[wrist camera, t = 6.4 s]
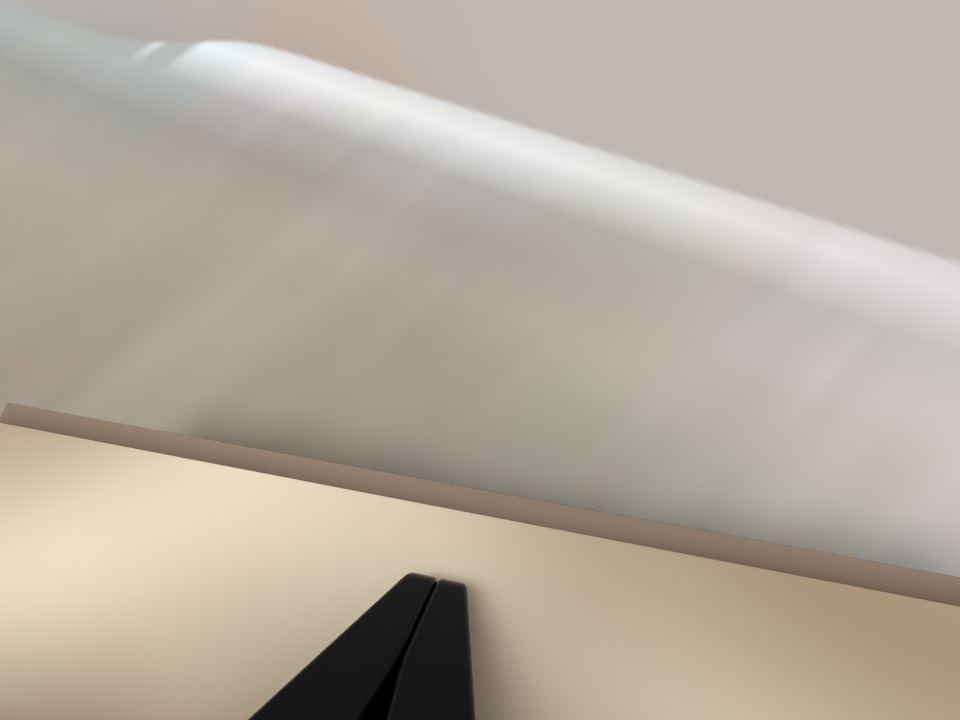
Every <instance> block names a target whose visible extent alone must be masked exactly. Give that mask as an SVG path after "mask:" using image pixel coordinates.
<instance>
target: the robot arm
mask: <svg viewBox="0 0 960 720" xmlns="http://www.w3.org/2000/svg"><path fill="white" fill-rule="evenodd" d="M248 720H476V717H475V701H474V686H473V670H472V654H471V638H470V623H469V607H468V592H467V586H466V585H465V584H464V583H461V582H456V581H452V580H447V579H440V580H439V581H438V582H437V579H436V578H435V577H433V576H428V575H424V574H419V573H412V572H411V573H408V574H406V575H405V576H404V577H403V578H402V579H400V580H399V581H398V582H397V583H396V584H395V585H394V586H393V587H392V588H391V589H390V590H388V591H387V592H386V593H385V594H384V595H383V596H382V597H381V598H380V599H379V600H378V601H376V602H375V603H374V604H373V605H372V606H371V607H370V608H369V609H368V610H367V611H366V612H364V613H363V614H362V615H361V616H360V617H359V618H358V619H357V620H356V621H355V622H354V623H352V624H351V625H350V626H349V627H348V628H347V629H346V630H345V631H344V632H343V633H342V634H340V635H339V636H338V637H337V638H336V639H335V640H334V641H333V642H332V643H331V644H330V645H328V646H327V647H326V648H325V649H324V650H323V651H322V652H321V653H320V654H319V655H318V656H316V657H315V658H314V659H313V660H312V661H311V662H310V663H309V664H308V665H307V666H306V667H304V668H303V669H302V670H301V671H300V672H299V673H298V674H297V675H296V676H295V677H294V678H292V679H291V680H290V681H289V682H288V683H287V684H286V685H285V686H284V687H283V688H282V689H280V690H279V691H278V692H277V693H276V694H275V695H274V696H273V697H272V698H271V699H270V700H268V701H267V702H266V703H265V704H264V705H263V706H262V707H261V708H260V709H259V710H258V711H256V712H255V713H254V714H253V715H252V716H251V717H250V718H249V719H248Z"/></svg>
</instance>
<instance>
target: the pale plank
mask: <svg viewBox="0 0 960 720" xmlns="http://www.w3.org/2000/svg"><path fill="white" fill-rule="evenodd" d="M411 572H412V573H419V574H424V575H428V576H433V577H435V578H436V579H437V582H438V581H439V580H440V579H447V580H452V581H456V582H461V583H464V584H465V585H466V586H467V592H468V607H469V623H470V638H471V654H472V670H473V686H474V701H475V717H476V720H960V607H959V606H954V605H948V604H943V603H938V602H933V601H928V600H922V599H917V598H912V597H907V596H901V595H896V594H891V593H886V592H881V591H875V590H870V589H865V588H860V587H854V586H849V585H844V584H839V583H834V582H828V581H823V580H818V579H813V578H807V577H802V576H797V575H792V574H787V573H781V572H776V571H771V570H766V569H760V568H755V567H750V566H745V565H740V564H734V563H729V562H724V561H719V560H713V559H708V558H703V557H698V556H693V555H687V554H682V553H677V552H672V551H666V550H661V549H656V548H651V547H646V546H640V545H635V544H630V543H625V542H619V541H614V540H609V539H604V538H599V537H593V536H588V535H583V534H578V533H572V532H567V531H562V530H557V529H552V528H546V527H541V526H536V525H531V524H525V523H520V522H515V521H510V520H505V519H499V518H494V517H489V516H484V515H479V514H473V513H468V512H463V511H458V510H452V509H447V508H442V507H437V506H432V505H426V504H421V503H416V502H411V501H405V500H400V499H395V498H390V497H385V496H379V495H374V494H369V493H364V492H358V491H353V490H348V489H343V488H338V487H332V486H327V485H322V484H317V483H311V482H306V481H301V480H296V479H291V478H285V477H280V476H275V475H270V474H264V473H259V472H254V471H249V470H244V469H238V468H233V467H228V466H223V465H217V464H212V463H207V462H202V461H197V460H191V459H186V458H181V457H176V456H170V455H165V454H160V453H155V452H150V451H144V450H139V449H134V448H129V447H123V446H118V445H113V444H108V443H103V442H97V441H92V440H87V439H82V438H76V437H71V436H66V435H61V434H56V433H50V432H45V431H40V430H35V429H29V428H24V427H19V426H14V425H9V424H3V423H0V720H248V719H249V718H250V717H251V716H252V715H253V714H254V713H255V712H256V711H258V710H259V709H260V708H261V707H262V706H263V705H264V704H265V703H266V702H267V701H268V700H270V699H271V698H272V697H273V696H274V695H275V694H276V693H277V692H278V691H279V690H280V689H282V688H283V687H284V686H285V685H286V684H287V683H288V682H289V681H290V680H291V679H292V678H294V677H295V676H296V675H297V674H298V673H299V672H300V671H301V670H302V669H303V668H304V667H306V666H307V665H308V664H309V663H310V662H311V661H312V660H313V659H314V658H315V657H316V656H318V655H319V654H320V653H321V652H322V651H323V650H324V649H325V648H326V647H327V646H328V645H330V644H331V643H332V642H333V641H334V640H335V639H336V638H337V637H338V636H339V635H340V634H342V633H343V632H344V631H345V630H346V629H347V628H348V627H349V626H350V625H351V624H352V623H354V622H355V621H356V620H357V619H358V618H359V617H360V616H361V615H362V614H363V613H364V612H366V611H367V610H368V609H369V608H370V607H371V606H372V605H373V604H374V603H375V602H376V601H378V600H379V599H380V598H381V597H382V596H383V595H384V594H385V593H386V592H387V591H388V590H390V589H391V588H392V587H393V586H394V585H395V584H396V583H397V582H398V581H399V580H400V579H402V578H403V577H404V576H405V575H406V574H408V573H411Z"/></svg>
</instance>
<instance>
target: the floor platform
mask: <svg viewBox="0 0 960 720" xmlns="http://www.w3.org/2000/svg"><path fill="white" fill-rule="evenodd" d="M0 423H3V424H9V425H14V426H19V427H24V428H29V429H35V430H40V431H45V432H50V433H56V434H61V435H66V436H71V437H76V438H82V439H87V440H92V441H97V442H103V443H108V444H113V445H118V446H123V447H129V448H134V449H139V450H144V451H150V452H155V453H160V454H165V455H170V456H176V457H181V458H186V459H191V460H197V461H202V462H207V463H212V464H217V465H223V466H228V467H233V468H238V469H244V470H249V471H254V472H259V473H264V474H270V475H275V476H280V477H285V478H291V479H296V480H301V481H306V482H311V483H317V484H322V485H327V486H332V487H338V488H343V489H348V490H353V491H358V492H364V493H369V494H374V495H379V496H385V497H390V498H395V499H400V500H405V501H411V502H416V503H421V504H426V505H432V506H437V507H442V508H447V509H452V510H458V511H463V512H468V513H473V514H479V515H484V516H489V517H494V518H499V519H505V520H510V521H515V522H520V523H525V524H531V525H536V526H541V527H546V528H552V529H557V530H562V531H567V532H572V533H578V534H583V535H588V536H593V537H599V538H604V539H609V540H614V541H619V542H625V543H630V544H635V545H640V546H646V547H651V548H656V549H661V550H666V551H672V552H677V553H682V554H687V555H693V556H698V557H703V558H708V559H713V560H719V561H724V562H729V563H734V564H740V565H745V566H750V567H755V568H760V569H766V570H771V571H776V572H781V573H787V574H792V575H797V576H802V577H807V578H813V579H818V580H823V581H828V582H834V583H839V584H844V585H849V586H854V587H860V588H865V589H870V590H875V591H881V592H886V593H891V594H896V595H901V596H907V597H912V598H917V599H922V600H928V601H933V602H938V603H943V604H948V605H954V606H959V607H960V578H959V577H954V576H948V575H943V574H937V573H932V572H926V571H921V570H916V569H910V568H905V567H899V566H894V565H888V564H883V563H877V562H872V561H867V560H861V559H856V558H850V557H845V556H839V555H834V554H828V553H823V552H818V551H812V550H807V549H801V548H796V547H790V546H785V545H779V544H774V543H769V542H763V541H758V540H752V539H747V538H741V537H736V536H730V535H725V534H720V533H714V532H709V531H703V530H698V529H692V528H687V527H681V526H676V525H670V524H665V523H660V522H654V521H649V520H643V519H638V518H632V517H627V516H621V515H616V514H611V513H605V512H600V511H594V510H589V509H583V508H578V507H572V506H567V505H562V504H556V503H551V502H545V501H540V500H534V499H529V498H523V497H518V496H513V495H507V494H502V493H496V492H491V491H485V490H480V489H474V488H469V487H463V486H458V485H453V484H447V483H442V482H436V481H431V480H425V479H420V478H414V477H409V476H404V475H398V474H393V473H387V472H382V471H376V470H371V469H365V468H360V467H355V466H349V465H344V464H338V463H333V462H327V461H322V460H316V459H311V458H306V457H300V456H295V455H289V454H284V453H278V452H273V451H267V450H262V449H257V448H251V447H246V446H240V445H235V444H229V443H224V442H218V441H213V440H207V439H202V438H197V437H191V436H186V435H180V434H175V433H169V432H164V431H158V430H153V429H148V428H142V427H137V426H131V425H126V424H120V423H115V422H109V421H104V420H99V419H93V418H88V417H82V416H77V415H71V414H66V413H60V412H55V411H50V410H44V409H39V408H33V407H28V406H22V405H17V404H11V403H7V404H6V407H5V409H4V411H3V413H2V416H1V418H0Z"/></svg>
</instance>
